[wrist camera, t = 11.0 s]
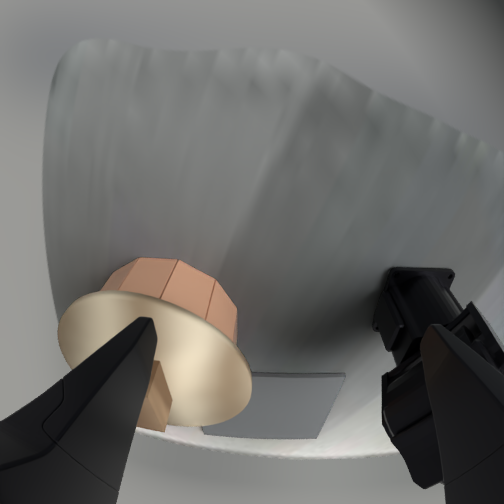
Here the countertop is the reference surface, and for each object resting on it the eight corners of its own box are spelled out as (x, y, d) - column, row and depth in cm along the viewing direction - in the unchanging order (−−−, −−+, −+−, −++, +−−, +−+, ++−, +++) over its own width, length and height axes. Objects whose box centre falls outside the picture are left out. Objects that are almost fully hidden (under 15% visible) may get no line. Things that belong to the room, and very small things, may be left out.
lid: (255, 300, 16) (252, 355, 12) (250, 426, 23) (247, 463, 20) (35, 279, 16) (5, 314, 13) (99, 402, 24) (87, 432, 20)
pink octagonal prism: (236, 262, 22) (227, 318, 16) (237, 365, 28) (232, 417, 22) (93, 254, 22) (56, 299, 17) (125, 352, 28) (106, 397, 23)
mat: (345, 373, 28) (345, 376, 27) (316, 435, 36) (316, 438, 35) (189, 367, 28) (188, 371, 28) (204, 431, 36) (204, 434, 36)
